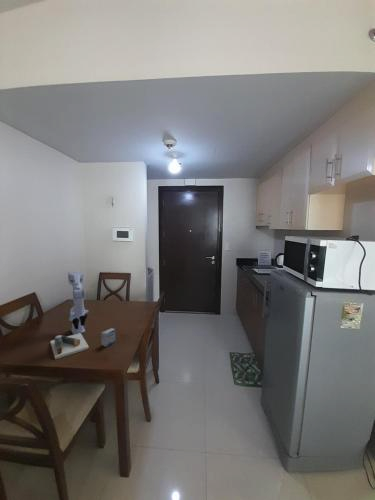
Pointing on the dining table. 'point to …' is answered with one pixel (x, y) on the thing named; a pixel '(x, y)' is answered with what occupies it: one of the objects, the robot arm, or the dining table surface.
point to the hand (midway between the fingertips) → (79, 327)
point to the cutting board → (70, 347)
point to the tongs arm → (68, 340)
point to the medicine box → (108, 337)
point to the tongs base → (58, 345)
